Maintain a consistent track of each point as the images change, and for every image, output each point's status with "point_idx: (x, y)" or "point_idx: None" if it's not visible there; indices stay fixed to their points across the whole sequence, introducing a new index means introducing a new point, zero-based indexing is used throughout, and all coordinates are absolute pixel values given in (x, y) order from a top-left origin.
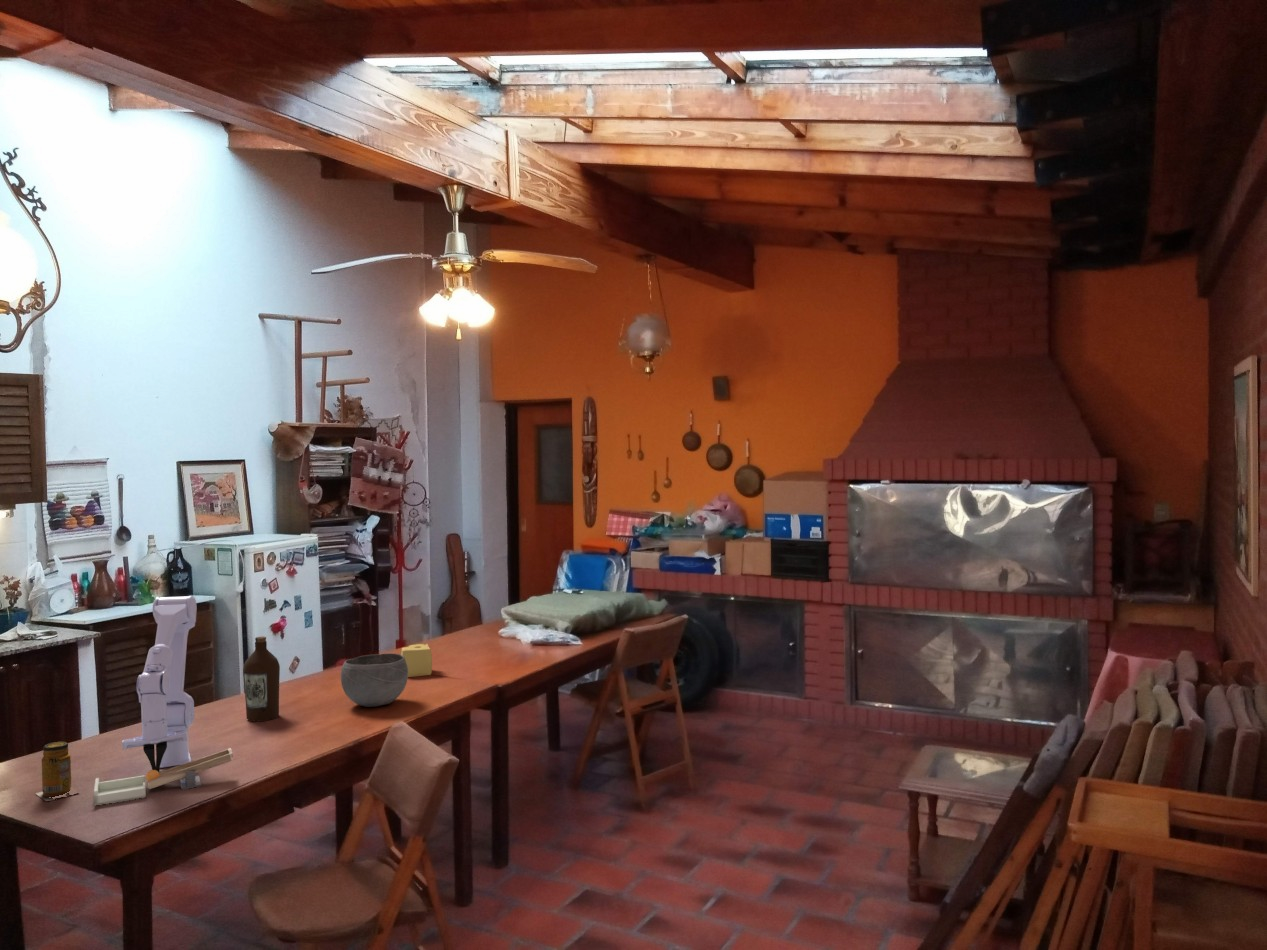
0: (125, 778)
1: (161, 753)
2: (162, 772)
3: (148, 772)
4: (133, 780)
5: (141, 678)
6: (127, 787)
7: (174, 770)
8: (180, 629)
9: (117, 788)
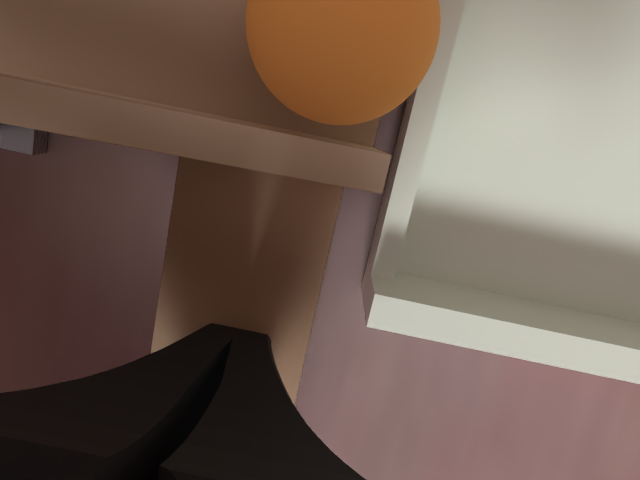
0: (579, 361)
1: (49, 400)
2: (186, 113)
3: (412, 8)
4: (491, 309)
5: None
6: (545, 265)
7: (21, 75)
8: None
9: (631, 303)
